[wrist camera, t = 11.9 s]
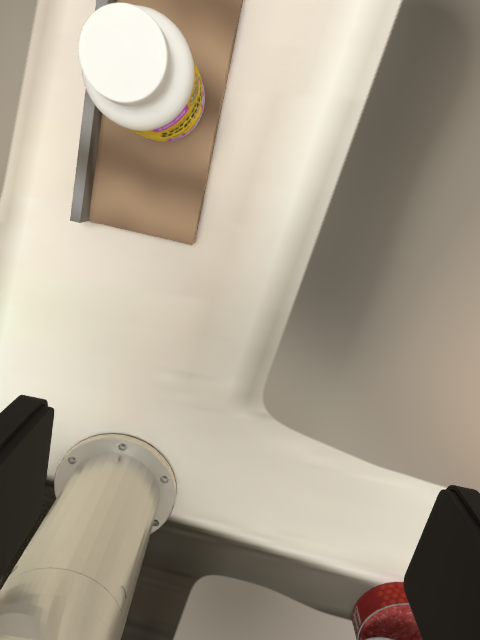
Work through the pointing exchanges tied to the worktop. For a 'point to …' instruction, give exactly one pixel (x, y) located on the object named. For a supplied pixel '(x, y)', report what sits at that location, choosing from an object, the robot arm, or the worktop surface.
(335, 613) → the worktop surface
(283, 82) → the worktop surface
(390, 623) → the canned food
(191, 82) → the supplement bottle
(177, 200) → the shelf
